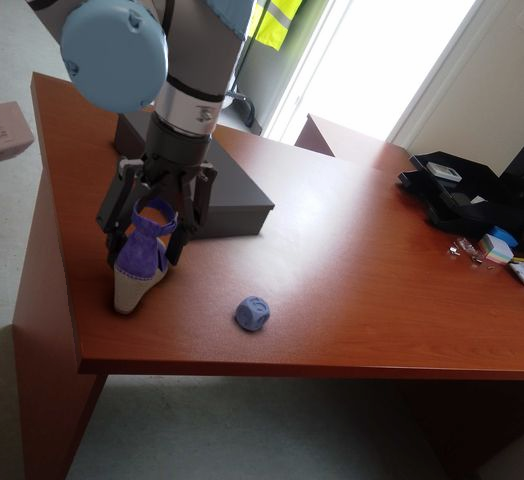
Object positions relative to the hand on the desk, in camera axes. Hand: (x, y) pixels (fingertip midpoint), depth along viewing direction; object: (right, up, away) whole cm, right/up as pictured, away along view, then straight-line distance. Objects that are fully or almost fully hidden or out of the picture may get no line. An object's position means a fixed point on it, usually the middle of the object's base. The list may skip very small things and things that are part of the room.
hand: (142, 263), depth 70 cm
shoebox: (+3, +20, +24) cm, 31 cm away
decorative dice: (+16, -9, +5) cm, 19 cm away
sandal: (-1, -2, +1) cm, 2 cm away
